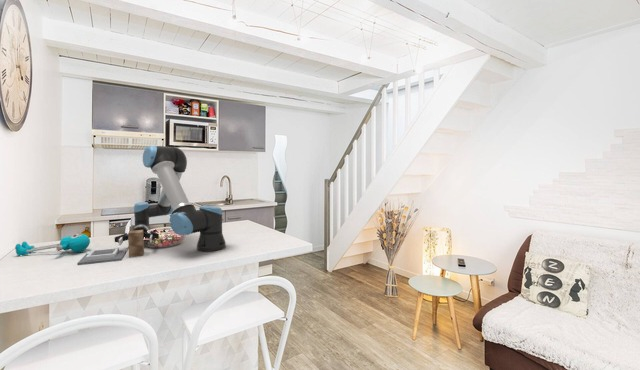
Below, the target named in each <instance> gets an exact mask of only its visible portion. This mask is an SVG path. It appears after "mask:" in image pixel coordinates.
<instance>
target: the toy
mask: <svg viewBox="0 0 640 370" xmlns="http://www.w3.org/2000/svg"><path fill="white" fill-rule="evenodd" d="M90 244H91V240H90V237H89V236H88V235H86V234H84V233H82V232H78V233H76V234H74V235H72V236H70V235H69V236H64V237H63V238H61V239H60V242H59V243H54V244H53V243H52V244H48V245H42V246H37V247H36V246H35V245H29V244H28V242H27V241H22V243H16V244H15V253H16V255H17V256H18V257H21V256H20V255H23V256H25V255H29V254H30V253H34V252H38V251H44V250H49V249H51V250H52V249H55V251H57V252H60V251H69V250H70V251H72V252H74V253H83V252H85V251H86V249H87V248H88V247H90Z"/></svg>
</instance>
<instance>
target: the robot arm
mask: <svg viewBox="0 0 640 370" xmlns="http://www.w3.org/2000/svg"><path fill="white" fill-rule="evenodd" d="M187 159H188V158H187V157H186V153H185V152H184V151H183V150H182V149H181V148H179V147H176V146H163V145H149V146H147V147H145V149H144V150H143V153H142V163H143V165H144V167H145V168H148V169H149V168H150V170H151V172H152V173H153V174H155V175H157V179H159V182H160V184H161V187H162V189H161V192H160V194H159V195H160V196H159V198H158V201H157V203H156V204H149V203H148V202H145V201H144V202H136V203H135V204H134V207H133V213H134V228H133V230H132V231H134V230H143V236H144V237H145V239H149V243H150V244H151V243H152V242H153V240H155V239H157V240H159V238H160V234H159V233H158V232H155V231H154V230H151V229H150V228H151V226H150V218H154V217H162V216H163V217H164V216H169V215H170V218H169V225H170V228H171V230H172V231H173V233H175V234H176V235H178V236H188V235H193V234H196V233H199V236H198V240H197V243H196V250H197V251H200V252H216V251H220V250H224V249H225V248H226V246H227V245H226V240H225V237H224V234H223V210H222V208H221V207H220V206H210V205H209V206H208V205H200V206H199V208H198V209H197V208H196V206H195V205H194V204H193V203H190V202H189V199H188V197H187V195H186V193H185V191H184V188H183V187H182V184H181V182H180V181H181V178H182V175H183V173H185V172H186V169H187V165H188V160H187ZM148 230H149V232H147V231H148ZM125 241H128V232H125V233H123V234H121V235H117V236H114V243H116V244H117V243H118V246H122V244H123V242H125Z"/></svg>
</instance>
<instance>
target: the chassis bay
mask: <svg viewBox="0 0 640 370" xmlns="http://www.w3.org/2000/svg"><path fill="white" fill-rule="evenodd" d="M126 253H127V250H126V249H123V250H120V247H111V248H102V249H101V248H100V249H91V251H89V252H88V253H86V254H84V255H83V257H81V259H80V260H78V261H77V266H82V265H91V264H100V263H110V262H111V263H112V262H118V261H120V262H121V261H122V260H123V258H124V257H125V255H126Z"/></svg>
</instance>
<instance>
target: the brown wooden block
mask: <svg viewBox="0 0 640 370" xmlns="http://www.w3.org/2000/svg"><path fill="white" fill-rule="evenodd" d="M133 230H134V229H133ZM133 230H129V231H128V232H127V234H128V240H127V241H128V257H129V258H132V257H143V256H144V253H145V243H144V240H145V239H144V236H143V230H134V231H133Z"/></svg>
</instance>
